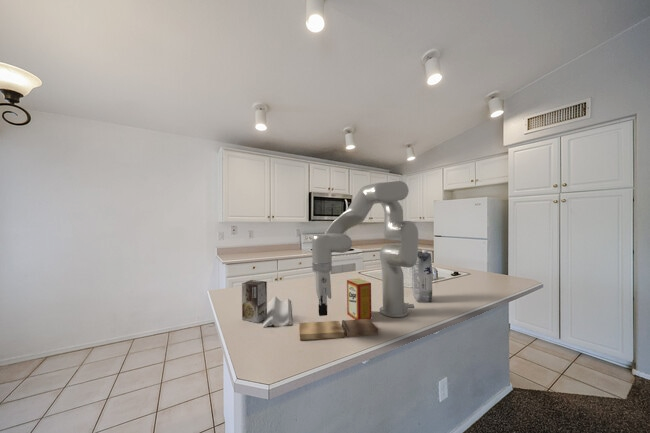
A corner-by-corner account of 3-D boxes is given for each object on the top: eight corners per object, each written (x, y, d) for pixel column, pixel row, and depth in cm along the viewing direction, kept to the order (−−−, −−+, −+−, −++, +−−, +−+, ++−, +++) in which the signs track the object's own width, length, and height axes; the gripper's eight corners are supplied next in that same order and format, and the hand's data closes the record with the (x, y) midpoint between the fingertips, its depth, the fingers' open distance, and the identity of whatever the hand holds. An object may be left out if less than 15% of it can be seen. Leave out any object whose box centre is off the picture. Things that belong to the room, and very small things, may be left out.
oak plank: (338, 325, 97) (338, 320, 97) (344, 337, 87) (344, 331, 87) (299, 328, 95) (299, 323, 95) (300, 340, 85) (300, 334, 85)
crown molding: (291, 327, 98) (291, 318, 98) (261, 329, 96) (261, 320, 96) (290, 302, 129) (290, 295, 129) (267, 303, 127) (267, 297, 127)
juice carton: (415, 302, 124) (414, 250, 125) (411, 296, 135) (410, 248, 136) (433, 303, 123) (432, 250, 124) (428, 297, 133) (427, 248, 134)
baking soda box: (347, 314, 110) (346, 279, 110) (359, 312, 112) (358, 277, 113) (358, 321, 101) (358, 283, 101) (371, 319, 104) (370, 282, 104)
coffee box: (267, 317, 106) (267, 281, 107) (257, 323, 100) (257, 284, 101) (251, 314, 110) (251, 279, 111) (241, 320, 104) (241, 282, 105)
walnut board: (369, 323, 99) (369, 318, 99) (377, 334, 89) (377, 328, 89) (341, 325, 97) (341, 320, 97) (347, 337, 87) (347, 330, 88)
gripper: (334, 270, 85) (336, 322, 85) (329, 263, 100) (329, 307, 99) (313, 271, 84) (314, 323, 84) (311, 264, 99) (311, 308, 99)
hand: (323, 314), depth 92 cm, fingers closed
